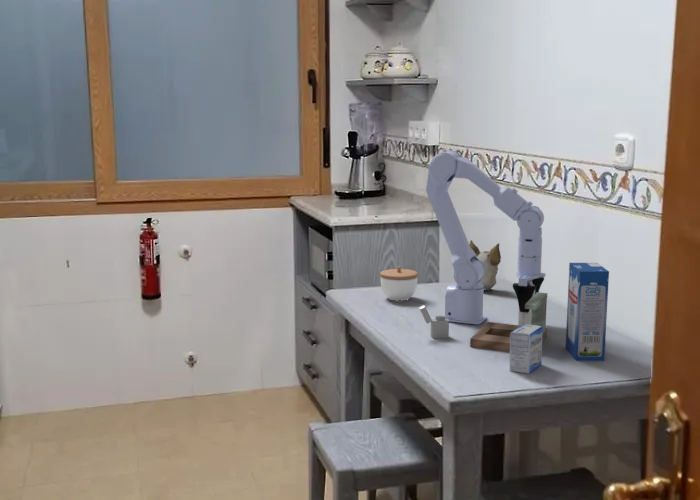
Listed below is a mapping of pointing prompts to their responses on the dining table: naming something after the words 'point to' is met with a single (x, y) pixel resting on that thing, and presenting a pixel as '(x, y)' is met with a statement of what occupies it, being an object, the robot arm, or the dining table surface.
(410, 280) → the lidded jar
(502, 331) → the socket board
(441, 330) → the lighter
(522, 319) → the eye dropper bottle
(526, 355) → the medicine box
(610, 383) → the dining table surface
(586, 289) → the milk carton
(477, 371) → the dining table surface
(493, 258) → the ceramic sculpture
